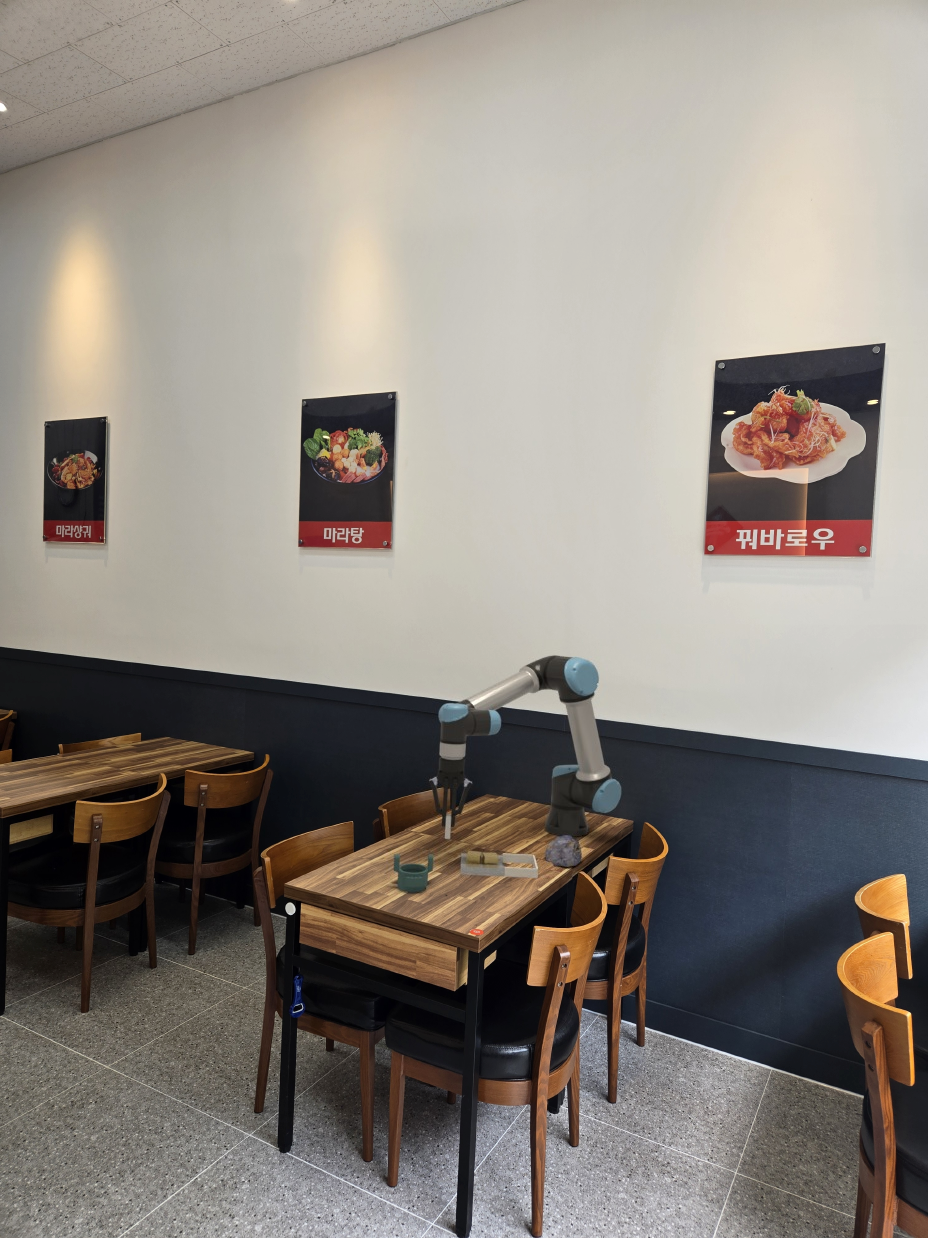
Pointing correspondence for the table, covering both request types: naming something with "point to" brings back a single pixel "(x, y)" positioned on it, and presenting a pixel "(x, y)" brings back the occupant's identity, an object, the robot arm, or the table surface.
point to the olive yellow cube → (474, 857)
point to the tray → (520, 871)
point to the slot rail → (482, 867)
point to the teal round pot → (412, 875)
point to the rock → (564, 851)
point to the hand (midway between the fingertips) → (447, 837)
